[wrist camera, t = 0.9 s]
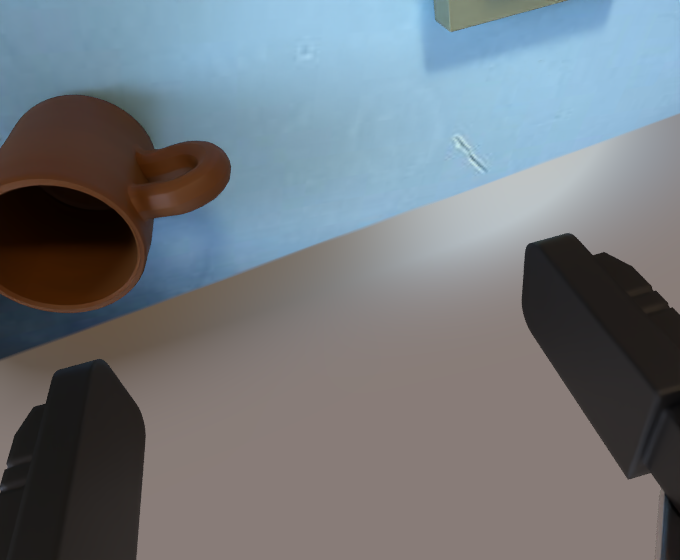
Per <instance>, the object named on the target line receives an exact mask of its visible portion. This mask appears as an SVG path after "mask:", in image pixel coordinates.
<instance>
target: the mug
mask: <svg viewBox="0 0 680 560" xmlns="http://www.w3.org/2000/svg"><path fill="white" fill-rule="evenodd" d="M230 173H231V164H230V160H229V158H228V156H227V155H226V153H225V152H224V151H223V150H222V149H221V148H219V147H218V146H216V145H215V144H213V143H210V142H206V141H187V142H182V143H178V144H174V145H171V146H168V147H165V148H162V149H154V146H153V144H152V142H151V140H150V138H149V136H148V134H147V133H146V131H145V130H144V129H143V127H142V126H141V125H140V124H139V123H138V122H137V121H136V120H135V119H134V118H133V117H132V116H131V115H129V114H128V113H127V112H125V111H124V110H122V109H121V108H119V107H117V106H116V105H114V104H111V103H109V102H107V101H104V100H101V99H98V98H95V97H90V96H83V95H64V96H58V97H54V98H50V99H47V100H45V101H43V102H41V103H39V104H37V105H36V106H34V107H33V108H31V109H30V110H29V111H27V112H26V113H25V114H24V115H23V116H22V117H21V119H20V120H19V121H18V123H17V124H16V125H15V127H14V128H13V130H12V131H11V133H10V135H9V136H8V138H7V139H6V141H5V142H4V144H3V145H2V147H1V148H0V294H2V295H4V296H6V297H7V298H9V299H11V300H13V301H16V302H18V303H20V304H23V305H26V306H28V307H31V308H35V309H39V310H44V311H50V312H59V313H76V312H86V311H91V310H95V309H99V308H102V307H105V306H107V305H109V304H112V303H114V302H115V301H117V300H119V299H120V298H122V297H123V296H124V295H126V294H127V293H128V292H129V291H130V290H131V289H132V288H133V287H134V286H135V285H136V284H137V282H138V281H139V279H140V277H141V275H142V273H143V271H144V268H145V264H146V261H147V256H148V252H149V249H150V245H151V240H152V231H153V222H154V218H158V217H166V216H173V215H180V214H184V213H188V212H191V211H193V210H195V209H198V208H200V207H202V206H204V205H205V204H207V203H209V202H210V201H212V200H214V199H215V198H216V197H217V196H218V195H219V194H220V193H221V192H222V191H223V190H224V188H225V187H226V185H227V183H228V182H229V179H230Z"/></svg>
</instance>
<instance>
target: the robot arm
mask: <svg viewBox="0 0 680 560" xmlns="http://www.w3.org/2000/svg"><path fill="white" fill-rule="evenodd" d="M522 309H523V314H524V317H525V320H526V323H527V325H528V328H529V330H530V331H531V333H532V335H533V336H534V338H535V339H536V341H537V342H538V344H539V345H540V347H541V348H542V350H543V351H544V353H545V354H546V356H547V357H548V359H549V360H550V362H551V363H552V365H553V367H554V368H555V370H556V371H557V372H558V374H559V376H560V377H561V379H562V380H563V382H564V383H565V385H566V386H567V388H568V389H569V391H570V392H571V394H572V395H573V397H574V398H575V400H576V401H577V403H578V404H579V406H580V407H581V409H582V410H583V412H584V413H585V415H586V416H587V418H588V420H589V421H590V423H591V424H592V426H593V427H594V429H595V430H596V432H597V433H598V434H599V436H600V438H601V439H602V441H603V442H604V444H605V445H606V446H607V448H608V450H609V451H610V453H611V454H612V456H613V457H614V459H615V460H616V462H617V463H618V465H619V467H620V468H621V470H622V471H623V472H624V474H625V476H626V477H627V478H628V479H632V478H635V477H638V476H642V475H645V474H648V473H652V475H653V476H654V478H655V479H656V481H657V482H658V484H659V485H660V486H661V490H660V495H659V505H658V520H657V536H656V550H655V560H680V315H679V314H678V313H677V312H676V311H675V309H673V308H670V307H669V306H668V302H667V301H665V299H664V298H663V297H662V296H661V295H660V294H659V293H658V292H657V291H653V290H652V286H651V285H650V284H649V283H648V282H647V281H646V280H645V279H644V278H643V277H642V276H641V275H640V274H639V273H638V272H637V271H636V270H635V269H634V268H633V267H632V266H630V265H628V264H626V263H624V262H622V261H620V260H619V259H616V258H615V257H613V256H611V255H609V254H607V253H605V252H603V253H600V254H596V255H592V254H591V253H590V252H589V251H588V250H587V249H586V247H585V246H584V245H583V244H582V243H581V242H580V241H579V240H578V239H577V238H576V237H575V236H574V235H572V234H569V233H566V234H562V235H559V236H555V237H552V238H548V239H544V240H540V241H537V242H534V243H530V244H528V245H527V247H526V251H525V261H524V275H523V290H522ZM144 451H145V425H144V421H143V417H142V414H141V412H140V410H139V407H138V406H137V404H136V403H135V401H134V400H133V399H132V397H131V396H130V395H129V393H128V392H127V390H126V389H125V388H124V386H123V385H122V383H121V382H120V380H119V379H118V378H117V376H116V375H115V373H114V372H113V371H112V369H111V368H110V367H109V365H108V364H107V363H106V362H105V361H104V360H102V359H97V360H93V361H90V362H86V363H83V364H79V365H75V366H71V367H68V368H64V369H60V370H58V371H56V372H55V373H54V375H53V378H52V381H51V385H50V389H49V393H48V396H47V401H46V404H43V405H39V406H35V407H33V409H32V410H31V412H30V413H29V415H28V416H27V418H26V419H25V421H24V422H23V424H22V425H21V427H20V428H19V430H18V431H17V432H16V434H15V436H14V439H13V443H12V446H11V450H10V453H9V457H8V460H7V466H8V468H7V469H6V470H5V471H4V474H3V477H2V481H1V485H0V490H1V493H0V560H136V555H137V541H138V528H139V515H140V503H141V490H142V477H143V463H144Z"/></svg>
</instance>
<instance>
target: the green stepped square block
mask: <svg viewBox="0 0 680 560" xmlns="http://www.w3.org/2000/svg"><path fill="white" fill-rule="evenodd" d="M563 1H567V0H434V10H435V20H436V21H437V22H438V23H439V24H441V25H442V26H443V27H444V28H446V29H447V30H448V31H449V32H453V31H457V30H460V29H464V28H468V27H471V26H475V25H479V24H482V23H486V22H490V21H493V20H497V19H501V18H504V17H508V16H512V15H515V14H519V13H523V12H526V11H530V10H534V9H538V8H541V7H545V6H549V5H552V4H556V3H560V2H563Z"/></svg>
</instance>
